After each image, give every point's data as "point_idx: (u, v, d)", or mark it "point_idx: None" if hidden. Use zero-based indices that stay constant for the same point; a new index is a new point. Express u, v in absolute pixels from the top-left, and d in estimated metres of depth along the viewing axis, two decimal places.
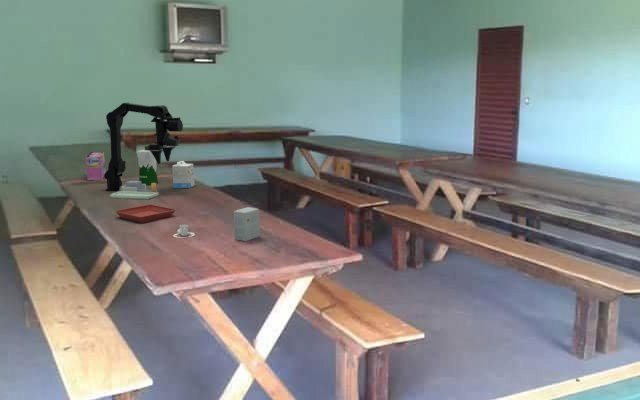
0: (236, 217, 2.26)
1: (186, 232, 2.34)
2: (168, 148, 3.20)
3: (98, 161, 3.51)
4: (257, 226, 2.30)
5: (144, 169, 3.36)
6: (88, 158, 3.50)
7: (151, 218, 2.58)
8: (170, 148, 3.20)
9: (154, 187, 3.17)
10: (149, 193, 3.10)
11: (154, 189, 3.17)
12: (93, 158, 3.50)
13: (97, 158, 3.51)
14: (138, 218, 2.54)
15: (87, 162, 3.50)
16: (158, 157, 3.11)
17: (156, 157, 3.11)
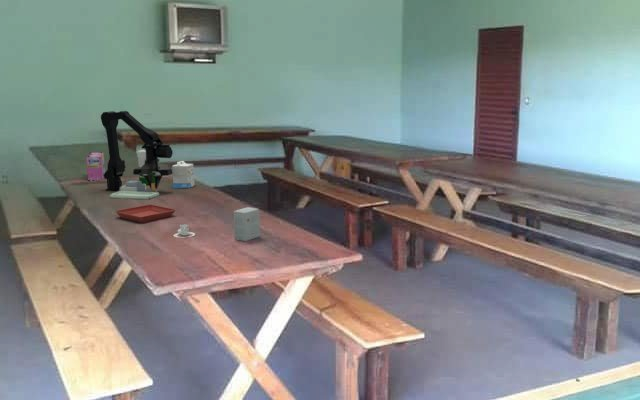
0: (236, 217, 2.26)
1: (186, 232, 2.34)
2: None
3: (99, 161, 3.51)
4: (257, 226, 2.30)
5: None
6: (89, 158, 3.50)
7: (151, 218, 2.58)
8: None
9: (154, 187, 3.17)
10: (149, 193, 3.10)
11: (154, 189, 3.17)
12: (94, 158, 3.50)
13: (98, 158, 3.51)
14: (138, 218, 2.54)
15: (88, 162, 3.50)
16: None
17: None
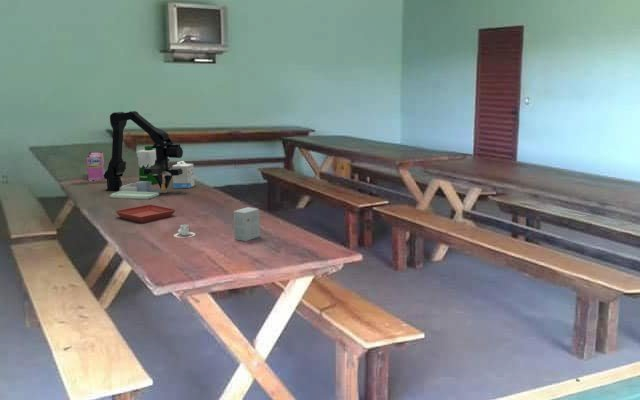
0: (236, 217, 2.26)
1: (187, 232, 2.34)
2: None
3: (99, 161, 3.51)
4: (257, 226, 2.30)
5: None
6: (89, 158, 3.49)
7: (151, 218, 2.58)
8: None
9: (164, 187, 3.16)
10: (149, 193, 3.10)
11: (164, 189, 3.16)
12: (94, 158, 3.50)
13: (98, 158, 3.51)
14: (138, 218, 2.54)
15: (88, 162, 3.50)
16: None
17: None
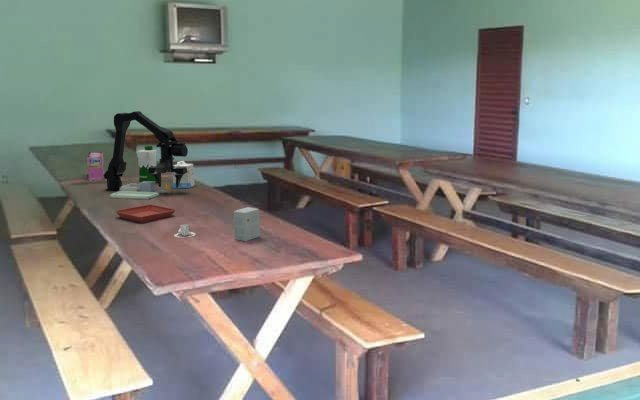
0: (236, 217, 2.26)
1: (187, 232, 2.34)
2: None
3: (99, 161, 3.51)
4: (257, 226, 2.30)
5: (144, 169, 3.36)
6: (89, 158, 3.49)
7: (151, 218, 2.58)
8: None
9: (168, 188, 3.15)
10: (149, 193, 3.10)
11: (168, 190, 3.16)
12: (94, 158, 3.50)
13: (98, 158, 3.51)
14: (138, 218, 2.54)
15: (88, 162, 3.50)
16: None
17: None
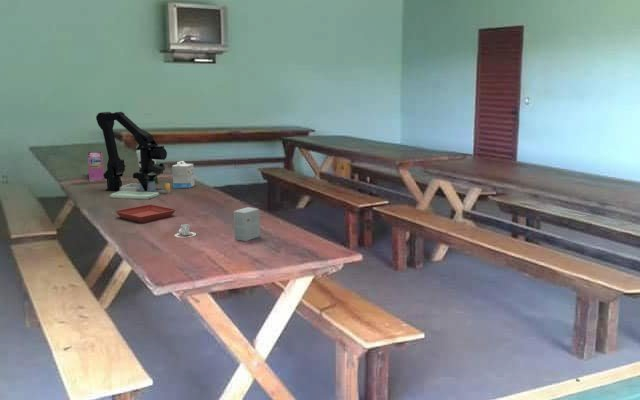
0: (236, 217, 2.26)
1: (187, 232, 2.35)
2: (151, 176, 3.21)
3: (100, 161, 3.51)
4: (257, 226, 2.30)
5: None
6: (90, 158, 3.49)
7: (151, 218, 2.58)
8: (153, 176, 3.20)
9: (168, 187, 3.15)
10: (149, 193, 3.10)
11: (168, 189, 3.16)
12: (95, 158, 3.50)
13: (99, 158, 3.51)
14: (138, 218, 2.54)
15: (89, 162, 3.50)
16: (145, 184, 3.15)
17: (143, 184, 3.15)
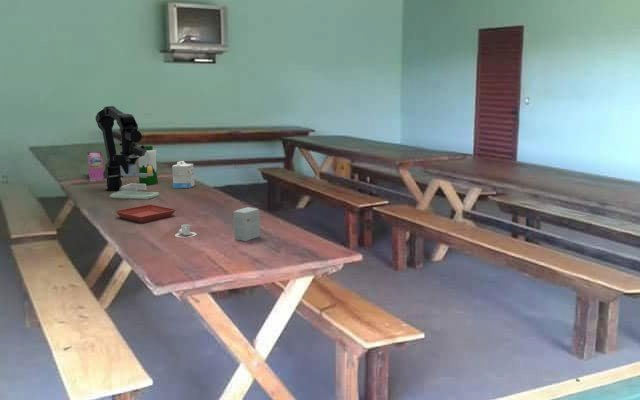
0: (236, 217, 2.26)
1: (188, 232, 2.35)
2: (132, 158, 3.11)
3: (101, 161, 3.51)
4: (257, 226, 2.30)
5: (144, 169, 3.36)
6: (91, 158, 3.49)
7: (151, 218, 2.58)
8: (134, 158, 3.11)
9: (150, 170, 3.06)
10: (149, 193, 3.10)
11: (150, 172, 3.06)
12: (96, 158, 3.50)
13: (100, 158, 3.51)
14: (138, 218, 2.54)
15: (90, 162, 3.50)
16: (126, 167, 3.05)
17: (124, 167, 3.05)
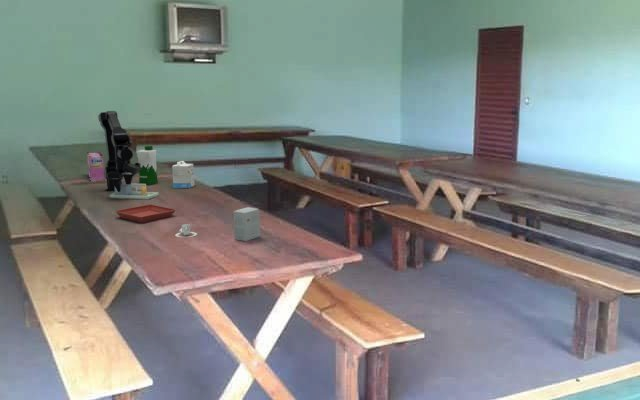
0: (236, 217, 2.26)
1: (188, 232, 2.35)
2: (129, 175, 3.11)
3: (101, 161, 3.52)
4: (257, 226, 2.30)
5: (144, 169, 3.36)
6: (91, 158, 3.49)
7: (151, 218, 2.58)
8: (131, 175, 3.11)
9: (144, 191, 3.05)
10: (149, 193, 3.10)
11: (144, 193, 3.05)
12: (96, 158, 3.50)
13: (100, 158, 3.51)
14: (138, 218, 2.54)
15: (90, 162, 3.49)
16: (118, 185, 3.02)
17: (116, 185, 3.02)
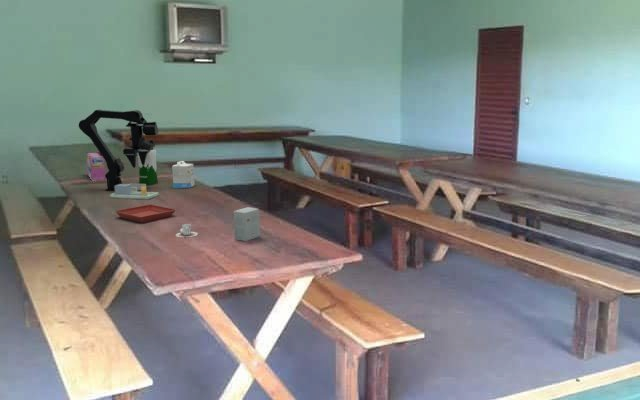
0: (236, 217, 2.26)
1: (189, 231, 2.35)
2: (143, 152, 3.27)
3: (102, 161, 3.52)
4: (257, 226, 2.30)
5: (144, 169, 3.36)
6: (92, 158, 3.49)
7: (151, 218, 2.58)
8: (145, 152, 3.27)
9: (144, 191, 3.05)
10: (149, 193, 3.10)
11: (144, 193, 3.05)
12: (97, 158, 3.50)
13: (101, 158, 3.51)
14: (138, 218, 2.54)
15: (91, 162, 3.49)
16: (133, 161, 3.17)
17: (131, 161, 3.18)
